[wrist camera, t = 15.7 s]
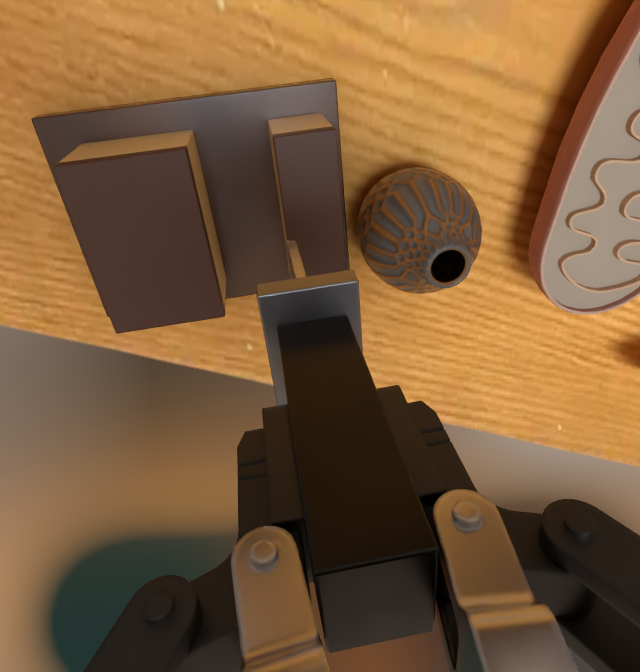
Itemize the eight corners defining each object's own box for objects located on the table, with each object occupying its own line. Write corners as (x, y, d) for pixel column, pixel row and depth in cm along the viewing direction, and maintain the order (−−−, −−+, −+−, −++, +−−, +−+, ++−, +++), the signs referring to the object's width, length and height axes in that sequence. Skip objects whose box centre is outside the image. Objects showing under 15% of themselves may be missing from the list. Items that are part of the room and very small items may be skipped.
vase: (427, 269, 35) (479, 336, 27) (334, 249, 33) (363, 314, 26) (468, 171, 31) (540, 217, 24) (367, 143, 30) (411, 183, 22)
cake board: (110, 310, 33) (107, 317, 32) (36, 115, 26) (30, 118, 26) (347, 273, 34) (350, 279, 33) (333, 77, 27) (336, 80, 27)
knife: (269, 328, 22) (313, 684, 10) (249, 221, 20) (279, 539, 8) (335, 317, 22) (452, 654, 11) (324, 210, 20) (467, 502, 8)
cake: (131, 292, 31) (115, 334, 27) (80, 143, 26) (51, 166, 22) (226, 278, 32) (225, 316, 28) (193, 129, 27) (185, 149, 23)
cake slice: (288, 268, 32) (296, 305, 28) (266, 119, 27) (272, 137, 23) (334, 261, 32) (349, 297, 28) (320, 112, 27) (336, 128, 23)
